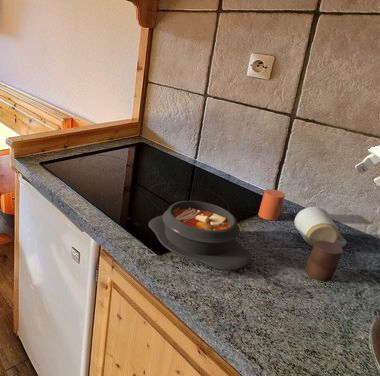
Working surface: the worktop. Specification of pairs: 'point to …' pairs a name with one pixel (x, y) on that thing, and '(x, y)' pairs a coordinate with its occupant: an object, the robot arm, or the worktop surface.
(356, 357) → the worktop surface
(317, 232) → the ceramic mug
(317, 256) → the walnut post
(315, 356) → the worktop surface
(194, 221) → the casserole
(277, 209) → the terracotta post
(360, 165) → the robot arm
